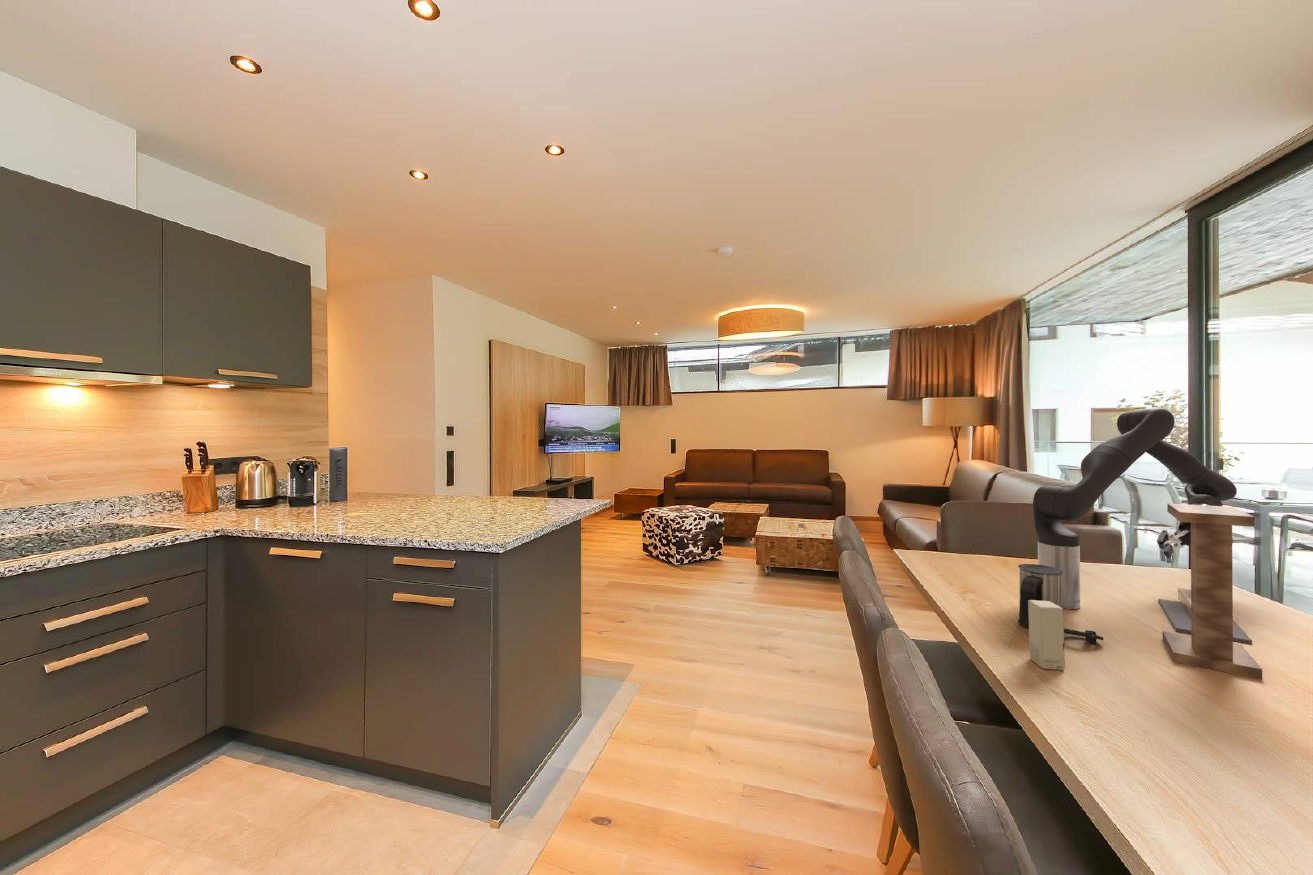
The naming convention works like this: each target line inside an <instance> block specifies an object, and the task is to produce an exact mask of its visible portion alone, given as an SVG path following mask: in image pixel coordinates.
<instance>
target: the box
mask: <svg viewBox="0 0 1313 875" xmlns="http://www.w3.org/2000/svg"><path fill="white" fill-rule="evenodd" d="M1028 612H1029V628H1028V632H1029V633H1028V636H1029V637H1028V638H1029V639H1028V640H1029V659H1030V660H1031V661H1033V662H1034V663H1035V664H1036V665H1037V666H1038V667H1040V668H1041V669H1044V670H1057V671H1065V670H1066V666H1065V665H1066V663H1065V662H1066V659H1065V633H1064V629H1065V628H1064V608H1061V607H1059V606H1058V605H1056V604H1054V603H1052V602H1050V601H1037V600H1028Z"/></svg>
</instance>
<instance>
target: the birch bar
mask: <svg viewBox="0 0 1313 875" xmlns="http://www.w3.org/2000/svg"><path fill="white" fill-rule="evenodd" d="M1177 599H1178V600H1179V602H1181V603H1182V604H1183V606H1184V607H1185V608H1186V610H1187V611H1188V612H1189V614H1190V615H1191V588H1182V587H1177Z"/></svg>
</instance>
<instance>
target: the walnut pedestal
mask: <svg viewBox="0 0 1313 875" xmlns="http://www.w3.org/2000/svg"><path fill="white" fill-rule="evenodd" d="M1167 513H1168V514H1169V515H1171V516H1172V517H1174V519H1176V520H1177V521H1179V523H1180V522H1191V546H1190V589H1191V635H1187V634H1183V633H1182V634H1181V633H1177V632H1170V631H1165V630H1164V631H1162V642H1163V643H1164V645H1165V648H1166V649H1167V652H1168V653H1169V655H1170V656H1171V659H1172V661H1173V662H1174V663H1178V664H1183V665H1188V666H1193V667H1197V668H1201V669H1206V670H1207V669H1208V670H1213V671H1217V672H1223V673H1228V674H1233V675H1238V676H1243V677H1248V678H1252V679H1253V678H1254V679H1259V680H1263V668H1262V667H1261V666H1260V665H1259V664H1258V662H1256V660H1255V659H1254V658H1253V656H1252V655H1251V654H1250V653H1249V651H1248V650H1246V649H1245V647H1244V645H1242V644H1240V643H1235V642H1234V641H1233V620H1234V619H1233V618H1234V616H1233V615H1234V613H1233V612H1234V611H1233V606H1234V605H1233V603H1234V602H1233V601H1234V600H1233V594H1234V593H1233V591H1234V590H1233V588H1234V587H1233V584H1234V583H1233V544H1232V538H1233V526H1238V527H1251V528H1254V527H1255V516H1253V515H1251V514H1249V513H1247V512H1245V511H1243V510H1240V509H1239V508H1236V507H1233V506H1226V505H1225V506H1224V505H1223V506H1207V505H1188V503H1168V502H1167Z"/></svg>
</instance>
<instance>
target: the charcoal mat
mask: <svg viewBox="0 0 1313 875" xmlns="http://www.w3.org/2000/svg"><path fill="white" fill-rule="evenodd" d="M1157 601H1158V603H1159V605H1160V607H1161V608H1162V610H1163V612H1164V614H1165V616H1166V617H1167V619H1168V620H1169V622H1170V624H1171V626H1172V627H1173V629H1174V630H1175V632H1179V633H1184V634H1191V615H1190V614H1189V612H1188V611H1187V610H1186V608H1185V607H1184V606H1183V604H1182V603H1181V602H1180V601H1178V600H1169V599H1165V598H1158V599H1157ZM1233 642H1237V643H1243V644H1249V645H1253V640H1252V638H1251V637H1250V636H1249V635H1248V634H1247V633H1246V632H1245V631H1244V630H1243V628H1241V627H1240V626H1239V625H1238V624H1237V622H1236V621H1235V620H1234V619H1233Z"/></svg>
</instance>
